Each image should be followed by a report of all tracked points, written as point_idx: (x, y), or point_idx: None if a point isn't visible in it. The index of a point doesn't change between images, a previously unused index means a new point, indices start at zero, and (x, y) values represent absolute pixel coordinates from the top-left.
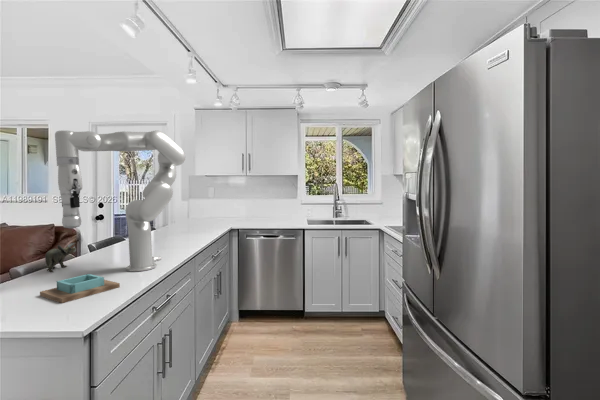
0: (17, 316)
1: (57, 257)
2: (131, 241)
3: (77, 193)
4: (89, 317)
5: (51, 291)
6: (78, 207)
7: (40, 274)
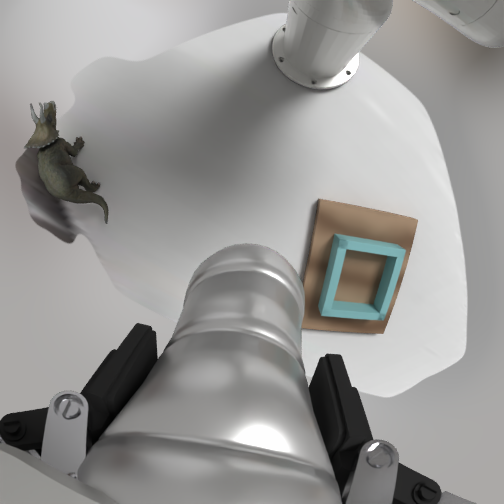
0: (359, 380)
1: (74, 170)
2: (340, 42)
3: (415, 489)
4: (454, 338)
5: (320, 318)
6: (276, 325)
7: (96, 212)
